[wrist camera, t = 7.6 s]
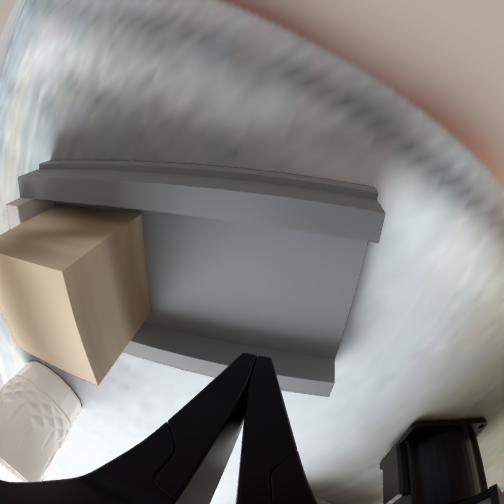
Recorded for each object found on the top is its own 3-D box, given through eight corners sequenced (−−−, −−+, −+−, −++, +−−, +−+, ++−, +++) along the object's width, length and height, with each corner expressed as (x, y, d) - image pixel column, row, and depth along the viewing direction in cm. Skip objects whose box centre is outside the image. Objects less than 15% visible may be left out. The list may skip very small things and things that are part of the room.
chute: (374, 187, 11) (394, 216, 8) (328, 365, 15) (326, 417, 12) (49, 160, 13) (1, 178, 10) (75, 308, 17) (43, 339, 14)
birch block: (142, 213, 12) (62, 271, 8) (151, 312, 14) (98, 385, 10) (57, 204, 13) (-20, 247, 9) (74, 291, 15) (16, 346, 11)
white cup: (59, 411, 26) (15, 476, 17) (14, 356, 23) (-42, 419, 14) (102, 418, 23) (53, 500, 14) (47, 353, 20) (-22, 436, 12)
